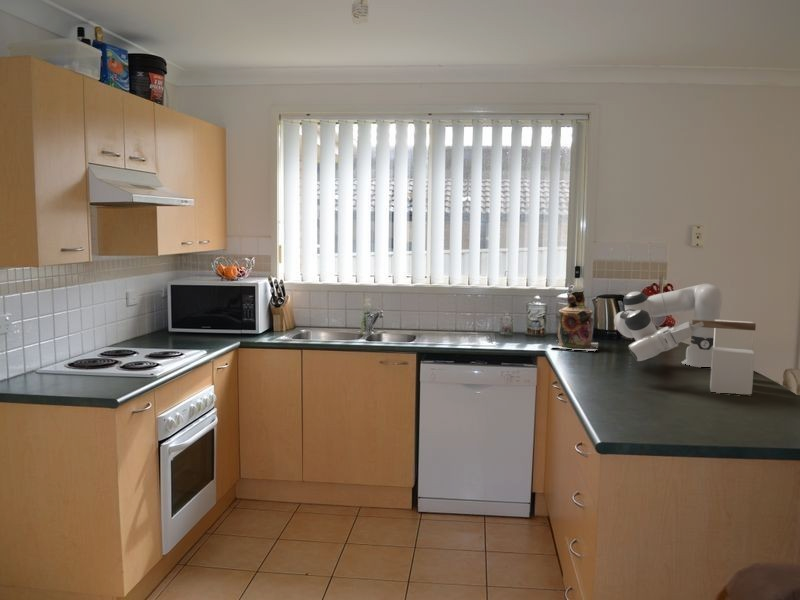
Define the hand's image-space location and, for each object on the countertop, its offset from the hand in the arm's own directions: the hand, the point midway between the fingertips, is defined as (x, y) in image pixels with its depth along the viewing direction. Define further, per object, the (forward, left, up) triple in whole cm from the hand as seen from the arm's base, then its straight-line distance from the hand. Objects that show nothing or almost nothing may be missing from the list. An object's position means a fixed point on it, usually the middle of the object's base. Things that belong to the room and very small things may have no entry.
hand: (702, 322), depth 256 cm
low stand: (-1, +11, -27) cm, 29 cm away
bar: (0, +7, -2) cm, 7 cm away
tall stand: (-17, +12, -27) cm, 34 cm away
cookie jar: (-79, -60, -27) cm, 102 cm away
